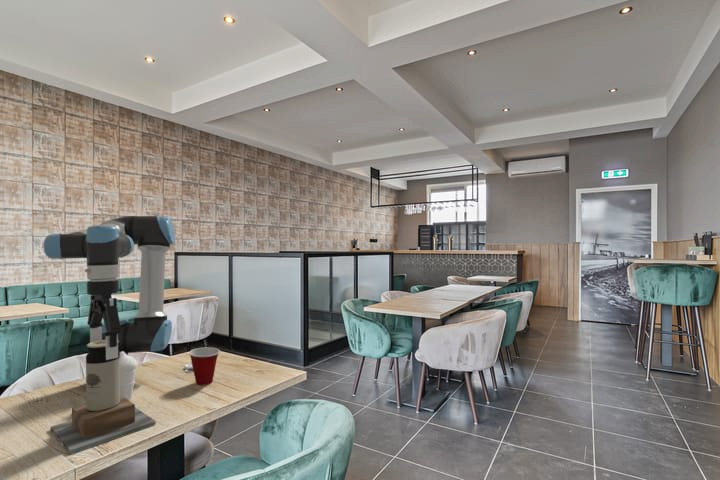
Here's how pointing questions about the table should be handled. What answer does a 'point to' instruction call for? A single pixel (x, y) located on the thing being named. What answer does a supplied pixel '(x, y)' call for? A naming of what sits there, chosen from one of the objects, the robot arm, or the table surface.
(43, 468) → the table surface
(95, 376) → the travel mug
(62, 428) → the base
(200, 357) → the plastic cup
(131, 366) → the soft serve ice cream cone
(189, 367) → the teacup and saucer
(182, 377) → the table surface
